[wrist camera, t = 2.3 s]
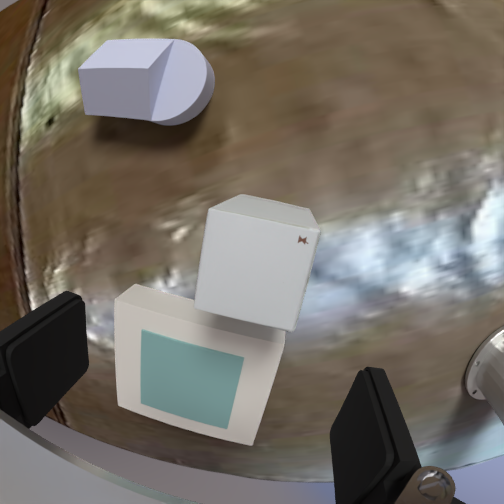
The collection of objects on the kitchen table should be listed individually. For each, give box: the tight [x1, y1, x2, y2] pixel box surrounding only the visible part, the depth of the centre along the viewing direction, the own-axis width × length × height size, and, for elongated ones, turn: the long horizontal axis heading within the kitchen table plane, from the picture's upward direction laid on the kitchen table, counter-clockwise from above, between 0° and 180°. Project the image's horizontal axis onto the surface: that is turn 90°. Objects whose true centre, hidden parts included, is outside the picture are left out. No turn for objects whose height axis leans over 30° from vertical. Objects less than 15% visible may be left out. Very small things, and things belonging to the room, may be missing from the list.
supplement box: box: [194, 194, 321, 332], centre depth 26 cm, size 7×7×13 cm
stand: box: [115, 284, 285, 446], centre depth 34 cm, size 18×16×5 cm
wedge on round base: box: [78, 39, 215, 126], centre depth 26 cm, size 9×7×13 cm
